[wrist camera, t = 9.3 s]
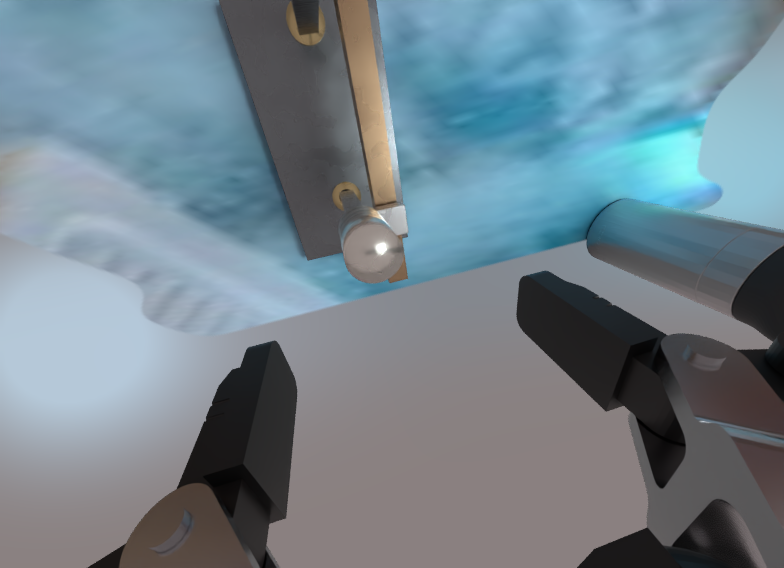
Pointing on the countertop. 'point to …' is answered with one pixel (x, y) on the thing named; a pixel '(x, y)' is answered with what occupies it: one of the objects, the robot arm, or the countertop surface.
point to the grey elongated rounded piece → (371, 238)
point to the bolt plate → (320, 107)
